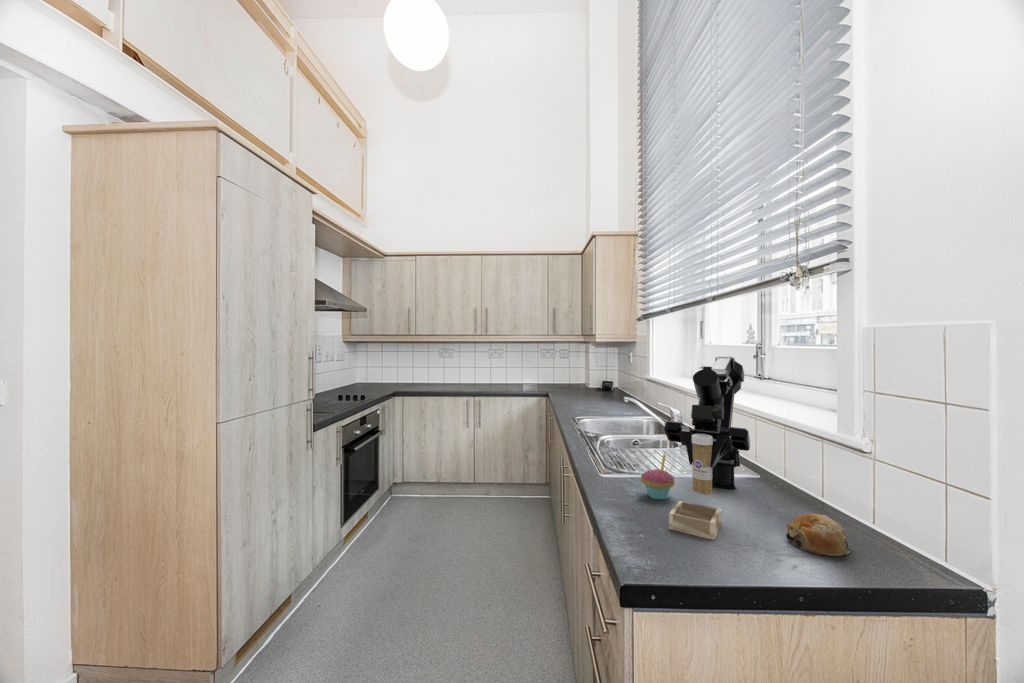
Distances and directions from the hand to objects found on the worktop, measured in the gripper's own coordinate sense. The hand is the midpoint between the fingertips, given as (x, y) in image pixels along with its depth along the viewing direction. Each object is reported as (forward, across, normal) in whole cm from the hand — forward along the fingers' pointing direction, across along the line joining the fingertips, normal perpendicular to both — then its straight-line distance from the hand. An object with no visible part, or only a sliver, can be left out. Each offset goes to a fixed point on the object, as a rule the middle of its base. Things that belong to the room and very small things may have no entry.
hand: (700, 465), depth 100 cm
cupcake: (+3, -12, +14) cm, 19 cm away
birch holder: (+13, 0, +4) cm, 14 cm away
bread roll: (+10, +22, +8) cm, 25 cm away
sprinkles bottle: (+4, 0, +6) cm, 7 cm away
